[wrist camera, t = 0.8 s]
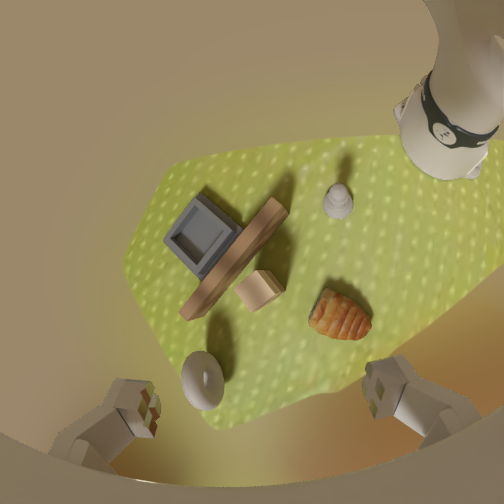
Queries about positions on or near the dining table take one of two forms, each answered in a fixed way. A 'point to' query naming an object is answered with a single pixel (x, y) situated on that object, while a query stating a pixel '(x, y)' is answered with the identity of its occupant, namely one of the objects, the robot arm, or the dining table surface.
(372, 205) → the dining table surface
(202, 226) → the seat block
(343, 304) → the pastry
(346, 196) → the chess piece
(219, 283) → the door edge
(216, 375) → the donut
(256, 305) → the block
